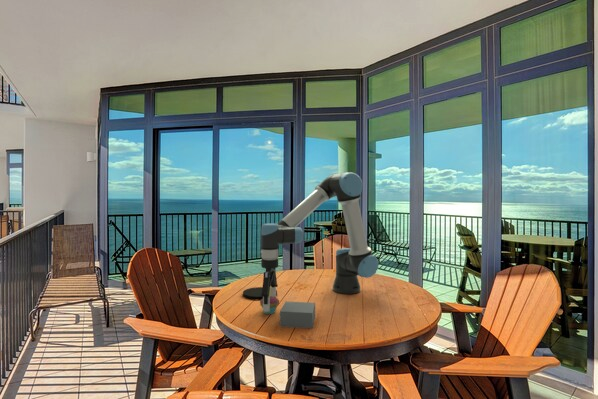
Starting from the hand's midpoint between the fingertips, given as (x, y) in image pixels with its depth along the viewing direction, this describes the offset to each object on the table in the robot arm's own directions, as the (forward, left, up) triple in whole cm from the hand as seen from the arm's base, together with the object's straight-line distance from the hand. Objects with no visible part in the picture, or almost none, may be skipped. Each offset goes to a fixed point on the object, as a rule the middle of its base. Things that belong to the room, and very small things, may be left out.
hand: (269, 306), depth 152 cm
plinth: (-14, +9, -3) cm, 17 cm away
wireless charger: (+11, -26, -3) cm, 28 cm away
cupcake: (0, 0, -3) cm, 3 cm away
